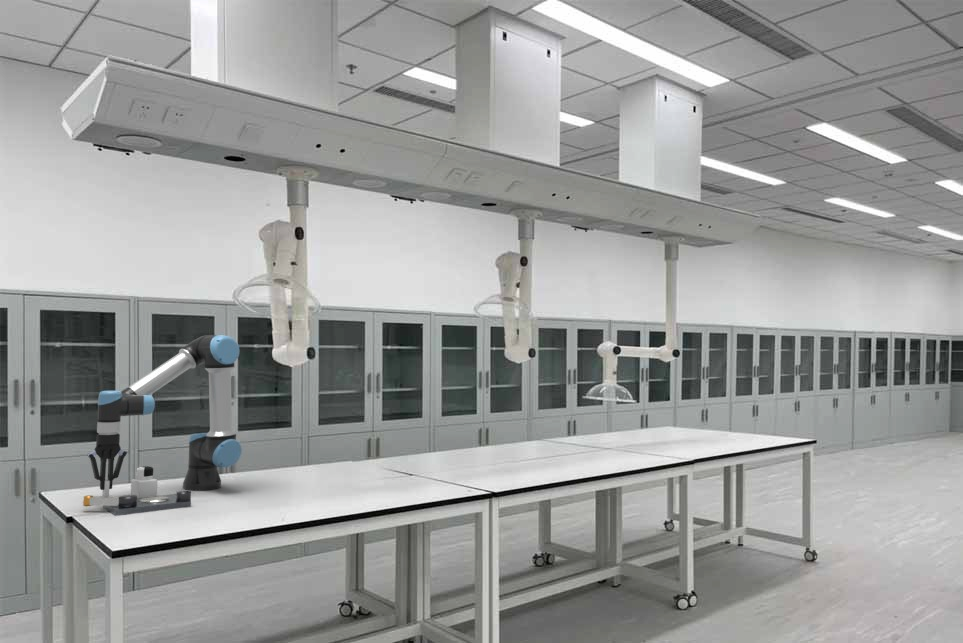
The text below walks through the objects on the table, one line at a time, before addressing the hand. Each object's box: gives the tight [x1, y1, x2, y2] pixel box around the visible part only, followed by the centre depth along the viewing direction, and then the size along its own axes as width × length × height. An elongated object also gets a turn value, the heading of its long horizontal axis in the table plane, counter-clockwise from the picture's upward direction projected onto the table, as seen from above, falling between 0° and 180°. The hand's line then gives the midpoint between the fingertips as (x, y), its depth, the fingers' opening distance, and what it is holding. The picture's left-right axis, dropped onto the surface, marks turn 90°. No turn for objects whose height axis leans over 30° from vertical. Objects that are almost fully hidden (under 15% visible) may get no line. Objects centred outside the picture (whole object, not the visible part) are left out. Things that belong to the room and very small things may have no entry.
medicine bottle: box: [130, 465, 158, 498], centre depth 281 cm, size 7×7×12 cm
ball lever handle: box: [82, 494, 137, 507], centre depth 257 cm, size 18×6×3 cm, turn 96°
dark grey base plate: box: [102, 493, 192, 517], centre depth 266 cm, size 26×16×2 cm, turn 132°
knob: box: [175, 490, 192, 502], centre depth 270 cm, size 8×5×3 cm, turn 42°
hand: (105, 498), depth 261 cm, fingers closed
